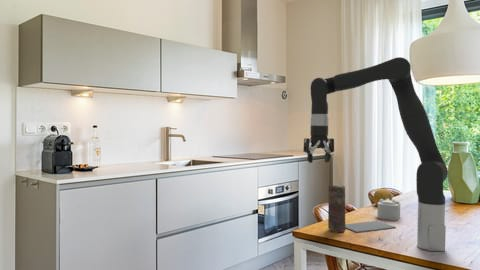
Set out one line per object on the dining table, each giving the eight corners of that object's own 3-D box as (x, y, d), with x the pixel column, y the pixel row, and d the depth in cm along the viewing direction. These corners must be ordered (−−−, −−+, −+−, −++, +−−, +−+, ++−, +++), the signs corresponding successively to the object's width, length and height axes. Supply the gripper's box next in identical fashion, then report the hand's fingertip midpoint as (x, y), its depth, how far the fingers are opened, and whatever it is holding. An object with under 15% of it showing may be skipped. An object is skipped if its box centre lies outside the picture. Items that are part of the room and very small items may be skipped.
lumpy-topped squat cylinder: (375, 217, 192) (376, 200, 192) (381, 213, 203) (381, 196, 203) (397, 220, 187) (398, 203, 186) (402, 215, 198) (402, 198, 197)
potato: (371, 206, 219) (371, 189, 219) (374, 202, 230) (375, 186, 230) (390, 208, 214) (390, 190, 214) (393, 204, 225) (393, 187, 225)
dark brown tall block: (324, 229, 170) (325, 184, 169) (338, 227, 172) (339, 183, 172) (334, 233, 163) (335, 187, 162) (348, 232, 165) (349, 186, 165)
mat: (356, 232, 164) (356, 231, 164) (339, 225, 175) (339, 224, 175) (395, 228, 173) (395, 226, 173) (376, 221, 184) (376, 220, 184)
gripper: (310, 124, 158) (309, 163, 158) (338, 125, 163) (337, 162, 164) (300, 124, 165) (299, 162, 165) (328, 125, 170) (327, 161, 171)
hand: (318, 162), depth 165 cm, fingers open, 8 cm apart
